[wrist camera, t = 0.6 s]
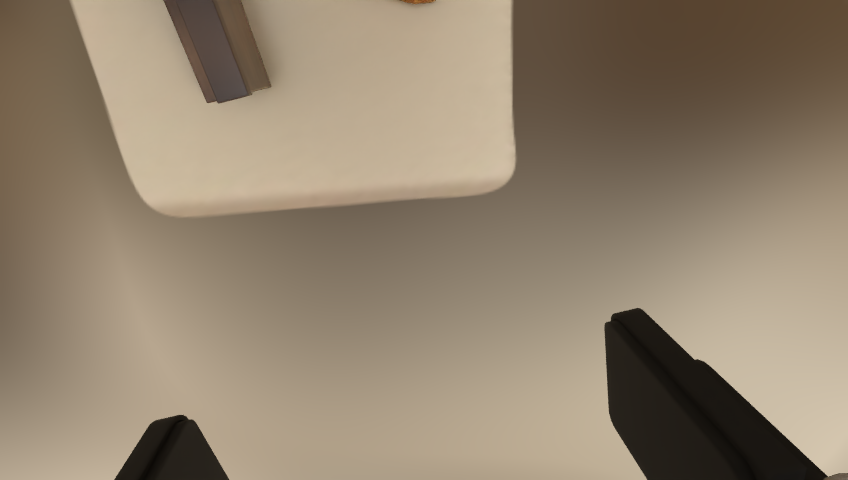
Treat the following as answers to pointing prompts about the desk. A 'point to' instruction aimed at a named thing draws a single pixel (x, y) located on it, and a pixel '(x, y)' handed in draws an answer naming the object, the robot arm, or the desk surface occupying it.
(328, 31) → the desk surface
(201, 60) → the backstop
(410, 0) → the pastry
